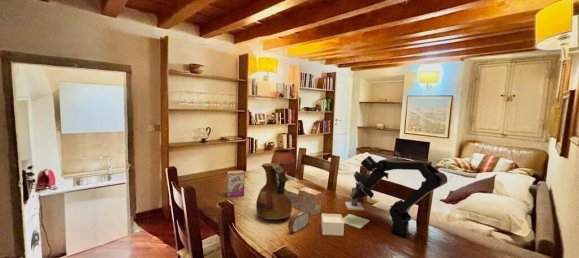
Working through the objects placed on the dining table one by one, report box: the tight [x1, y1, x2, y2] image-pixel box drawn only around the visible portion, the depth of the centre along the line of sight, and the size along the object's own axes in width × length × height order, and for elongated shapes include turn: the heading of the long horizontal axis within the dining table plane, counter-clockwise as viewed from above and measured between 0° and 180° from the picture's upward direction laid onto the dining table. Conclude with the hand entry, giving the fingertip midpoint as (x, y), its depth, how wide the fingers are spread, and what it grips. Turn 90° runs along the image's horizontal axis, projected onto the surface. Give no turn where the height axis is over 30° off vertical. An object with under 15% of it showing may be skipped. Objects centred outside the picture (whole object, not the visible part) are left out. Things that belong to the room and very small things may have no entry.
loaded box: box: [320, 213, 345, 237], centre depth 128 cm, size 10×10×6 cm
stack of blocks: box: [287, 186, 322, 216], centre depth 154 cm, size 21×6×12 cm, turn 49°
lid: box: [344, 187, 365, 211], centre depth 137 cm, size 8×8×10 cm
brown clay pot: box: [270, 148, 296, 182], centre depth 210 cm, size 19×19×25 cm
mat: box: [342, 213, 370, 229], centre depth 139 cm, size 12×12×1 cm
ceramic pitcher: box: [255, 162, 293, 220], centre depth 141 cm, size 20×20×30 cm
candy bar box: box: [226, 170, 246, 198], centre depth 172 cm, size 11×5×16 cm, turn 108°
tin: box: [287, 210, 310, 233], centre depth 128 cm, size 15×3×8 cm, turn 141°
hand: (351, 197), depth 137 cm, fingers closed on lid, 3 cm apart
